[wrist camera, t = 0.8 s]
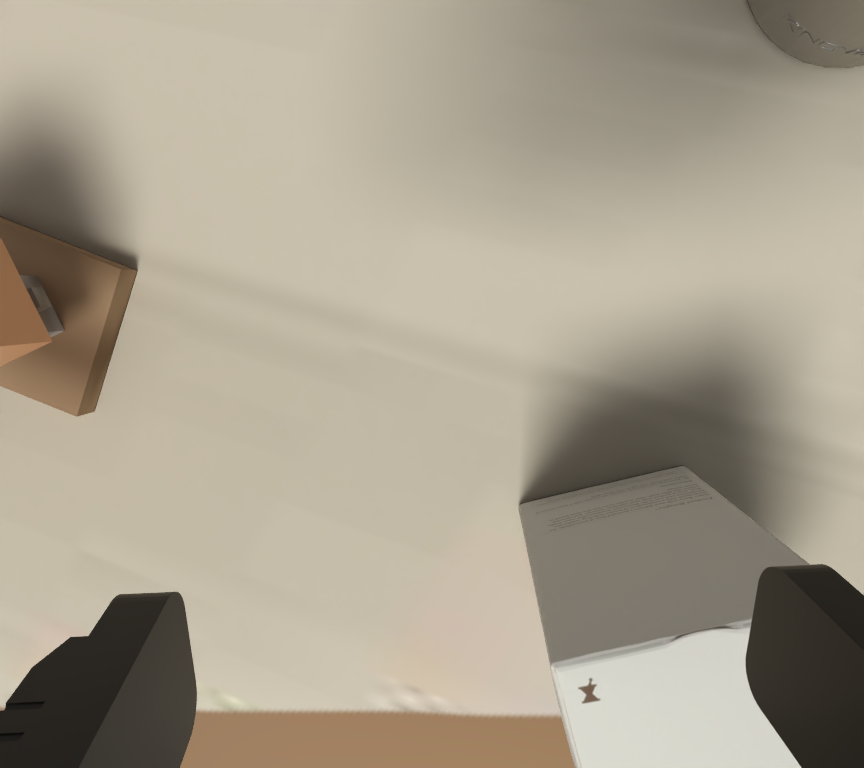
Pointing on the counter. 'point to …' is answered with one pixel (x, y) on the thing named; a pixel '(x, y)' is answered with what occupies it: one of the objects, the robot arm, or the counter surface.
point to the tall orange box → (17, 314)
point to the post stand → (66, 318)
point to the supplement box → (653, 622)
